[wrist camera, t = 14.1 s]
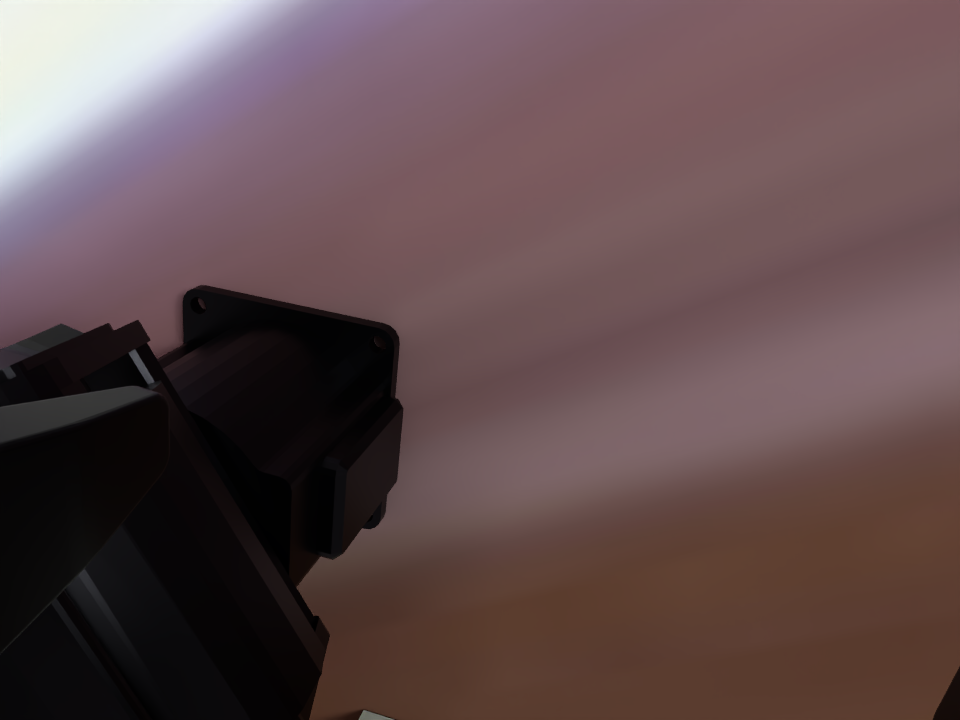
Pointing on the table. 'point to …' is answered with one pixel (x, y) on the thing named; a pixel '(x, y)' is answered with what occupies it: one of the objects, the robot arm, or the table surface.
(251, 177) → the table surface
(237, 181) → the table surface
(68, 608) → the robot arm
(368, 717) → the tray
